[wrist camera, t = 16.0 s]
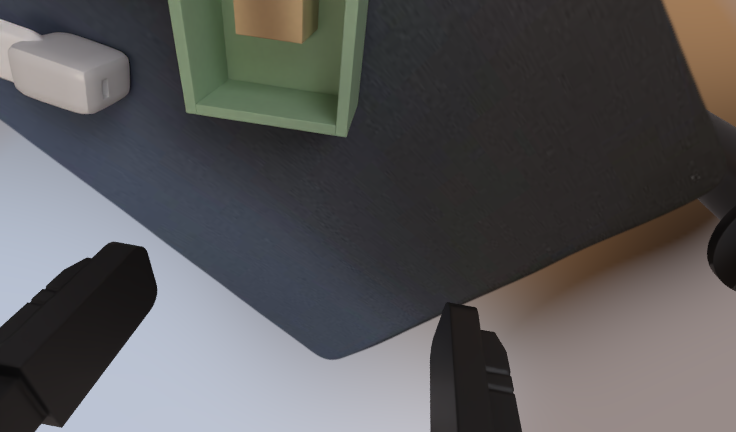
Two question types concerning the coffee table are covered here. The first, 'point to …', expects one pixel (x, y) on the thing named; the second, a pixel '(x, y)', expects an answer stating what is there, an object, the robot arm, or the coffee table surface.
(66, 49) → the power adapter
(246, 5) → the block
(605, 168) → the coffee table surface
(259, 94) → the bin
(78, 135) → the coffee table surface
